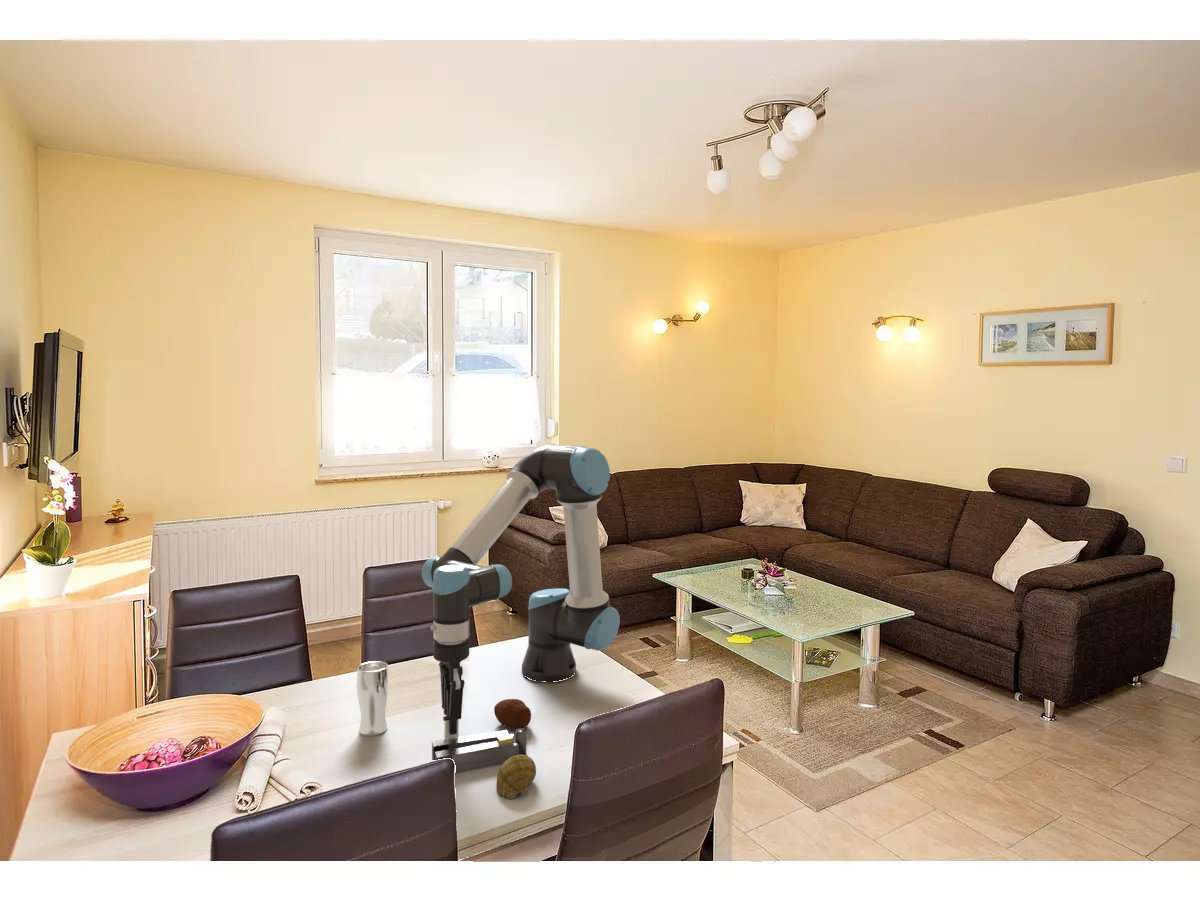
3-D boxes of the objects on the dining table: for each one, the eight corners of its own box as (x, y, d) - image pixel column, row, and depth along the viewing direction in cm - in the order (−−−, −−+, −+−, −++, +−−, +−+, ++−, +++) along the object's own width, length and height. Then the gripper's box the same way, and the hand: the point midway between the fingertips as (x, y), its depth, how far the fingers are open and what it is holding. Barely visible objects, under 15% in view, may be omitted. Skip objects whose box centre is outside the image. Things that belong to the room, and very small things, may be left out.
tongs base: (524, 749, 156) (524, 727, 156) (530, 758, 152) (530, 735, 152) (433, 767, 148) (433, 744, 148) (437, 777, 144) (437, 753, 144)
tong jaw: (512, 746, 157) (512, 729, 156) (515, 751, 154) (515, 734, 154) (431, 759, 151) (431, 741, 150) (433, 765, 148) (433, 746, 148)
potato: (512, 738, 161) (512, 710, 161) (487, 724, 168) (488, 697, 167) (536, 728, 166) (536, 701, 166) (511, 715, 173) (511, 689, 172)
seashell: (519, 818, 138) (547, 788, 138) (491, 802, 135) (519, 771, 135) (513, 782, 147) (539, 754, 147) (487, 767, 145) (513, 738, 144)
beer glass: (377, 739, 160) (376, 673, 158) (350, 734, 162) (350, 669, 160) (395, 725, 166) (394, 662, 165) (369, 721, 168) (368, 659, 167)
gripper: (427, 631, 156) (427, 735, 158) (440, 651, 144) (440, 764, 146) (461, 627, 159) (461, 729, 161) (476, 646, 147) (476, 756, 149)
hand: (451, 745), depth 154 cm, fingers closed
